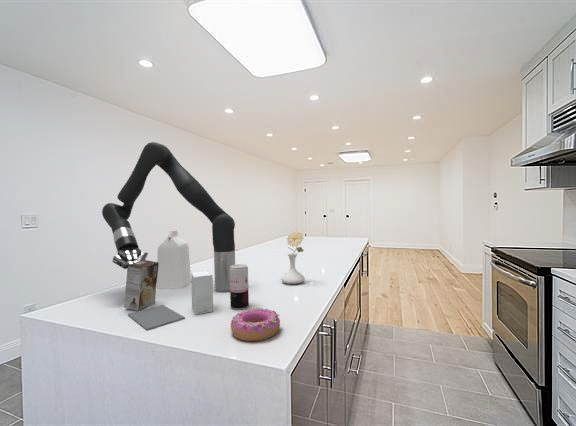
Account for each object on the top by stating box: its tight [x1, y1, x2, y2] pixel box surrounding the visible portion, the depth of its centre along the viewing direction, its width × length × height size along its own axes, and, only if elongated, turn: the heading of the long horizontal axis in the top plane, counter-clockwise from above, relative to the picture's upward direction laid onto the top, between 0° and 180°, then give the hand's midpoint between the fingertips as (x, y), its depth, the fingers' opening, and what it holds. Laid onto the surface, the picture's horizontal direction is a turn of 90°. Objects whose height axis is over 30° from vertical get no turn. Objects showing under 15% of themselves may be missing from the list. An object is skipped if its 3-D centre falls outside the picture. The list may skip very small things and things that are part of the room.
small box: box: [190, 270, 214, 315], centre depth 101 cm, size 8×6×13 cm
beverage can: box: [229, 263, 250, 311], centre depth 103 cm, size 7×6×15 cm
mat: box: [127, 304, 186, 331], centre depth 95 cm, size 18×12×1 cm, turn 46°
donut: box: [230, 307, 281, 342], centre depth 83 cm, size 14×14×5 cm
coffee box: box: [123, 259, 159, 312], centre depth 106 cm, size 9×6×16 cm
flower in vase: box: [280, 230, 306, 285], centre depth 135 cm, size 13×11×25 cm
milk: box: [156, 229, 192, 290], centre depth 135 cm, size 12×12×26 cm
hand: (136, 275), depth 108 cm, fingers closed
